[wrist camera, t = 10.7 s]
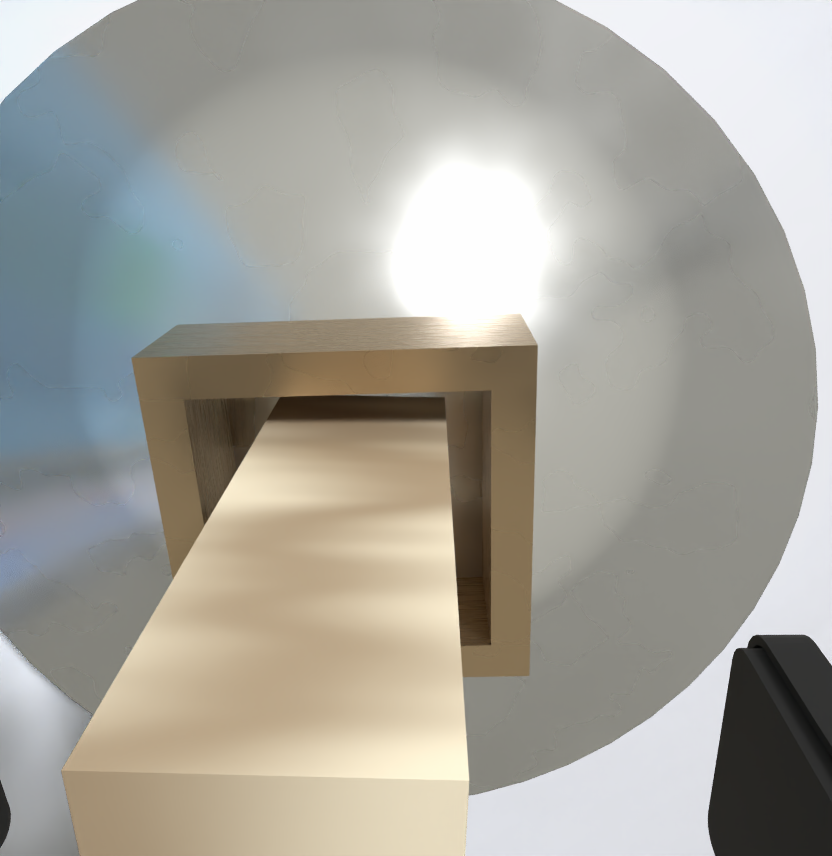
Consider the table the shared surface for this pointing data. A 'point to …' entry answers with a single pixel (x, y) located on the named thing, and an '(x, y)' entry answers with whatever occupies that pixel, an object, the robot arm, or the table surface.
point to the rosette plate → (402, 333)
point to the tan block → (297, 658)
